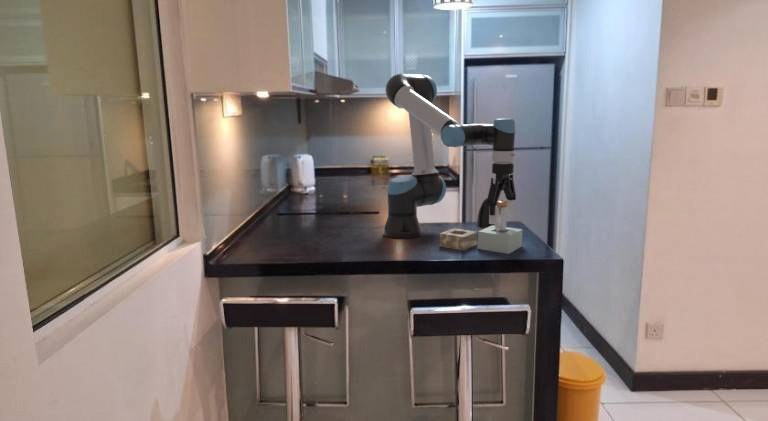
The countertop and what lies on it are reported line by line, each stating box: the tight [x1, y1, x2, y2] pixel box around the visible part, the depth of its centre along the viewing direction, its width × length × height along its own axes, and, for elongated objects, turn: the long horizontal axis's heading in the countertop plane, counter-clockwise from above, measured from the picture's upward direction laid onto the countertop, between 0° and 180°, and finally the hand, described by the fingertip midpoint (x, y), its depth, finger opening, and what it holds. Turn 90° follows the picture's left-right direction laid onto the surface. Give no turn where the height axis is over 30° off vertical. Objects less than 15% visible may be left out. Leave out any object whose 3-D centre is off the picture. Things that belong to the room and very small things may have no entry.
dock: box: [477, 225, 524, 255], centre depth 190 cm, size 12×12×6 cm
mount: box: [439, 228, 478, 251], centre depth 194 cm, size 10×10×5 cm
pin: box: [495, 200, 508, 233], centre depth 189 cm, size 4×4×17 cm
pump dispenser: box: [475, 197, 504, 232], centre depth 209 cm, size 10×10×15 cm
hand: (500, 220), depth 189 cm, fingers open, 13 cm apart
